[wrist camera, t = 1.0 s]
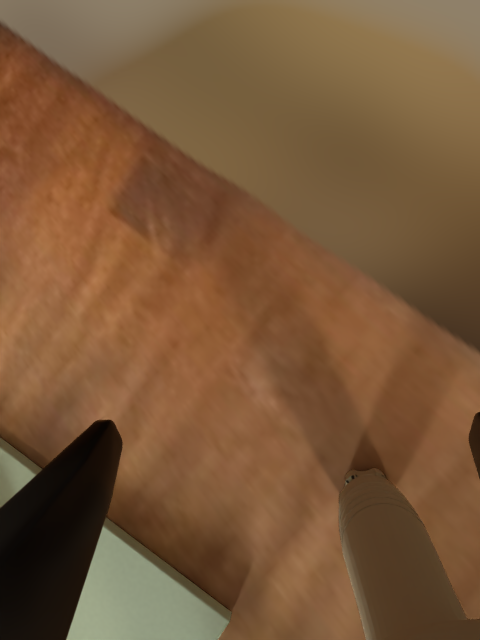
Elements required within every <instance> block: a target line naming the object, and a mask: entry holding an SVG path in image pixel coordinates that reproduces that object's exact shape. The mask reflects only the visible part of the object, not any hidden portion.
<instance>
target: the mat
mask: <svg viewBox="0 0 480 640" xmlns="http://www.w3.org/2000/svg"><path fill="white" fill-rule="evenodd" d="M41 470H42V469H41V468H40V467H39V466H37V465H36V464H35V463H33V462H32V461H31V460H29V459H28V458H27V457H26V456H24V455H23V454H22V453H20V452H19V451H18V450H16V449H15V448H14V447H12V446H11V445H10V444H8V443H7V442H6V441H4V440H3V439H2V438H0V508H1V507H2V506H3V505H4V504H5V503H6V502H7V501H8V500H9V499H10V498H12V497H13V496H14V495H15V494H16V493H17V492H18V491H19V490H20V489H21V488H23V487H24V486H25V485H26V484H27V483H28V482H29V481H30V480H31V479H32V478H34V477H35V476H36V475H37V474H38V473H39V472H40V471H41ZM231 614H232V613H231V611H229V610H228V609H227V608H225V607H224V606H223V605H221V604H220V603H219V602H217V601H216V600H215V599H213V598H212V597H211V596H209V595H208V594H207V593H205V592H204V591H203V590H202V589H200V588H199V587H198V586H196V585H195V584H194V583H192V582H191V581H190V580H188V579H187V578H186V577H184V576H183V575H182V574H180V573H179V572H178V571H176V570H175V569H174V568H172V567H171V566H170V565H168V564H167V563H166V562H164V561H163V560H162V559H161V558H159V557H158V556H157V555H155V554H154V553H153V552H151V551H150V550H149V549H147V548H146V547H145V546H143V545H142V544H141V543H139V542H138V541H137V540H135V539H134V538H133V537H131V536H130V535H129V534H127V533H126V532H125V531H123V530H122V529H121V528H119V527H118V526H117V525H116V524H114V523H113V522H112V521H110V520H109V519H108V518H106V519H105V522H104V525H103V528H102V531H101V534H100V537H99V540H98V543H97V547H96V550H95V553H94V556H93V559H92V562H91V565H90V568H89V571H88V574H87V578H86V581H85V584H84V587H83V590H82V593H81V596H80V599H79V602H78V605H77V608H76V612H75V615H74V618H73V621H72V624H71V627H70V630H69V633H68V636H67V639H66V640H218V638H219V637H220V635H221V634H222V632H223V631H224V629H225V628H226V626H227V625H228V623H229V622H230V618H231Z"/></svg>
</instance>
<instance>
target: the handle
mask: <svg viewBox="0 0 480 640" xmlns="http://www.w3.org/2000/svg"><path fill="white" fill-rule="evenodd" d="M339 532H340V539H341V545H342V551H343V556H344V560H345V563H346V567H347V570H348V574H349V577H350V581H351V584H352V588H353V592H354V595H355V599H356V602H357V606H358V610H359V614H360V618H361V622H362V626H363V630H364V634H365V638H366V640H480V619H471V620H468V619H467V617H466V615H465V613H464V611H463V609H462V607H461V605H460V603H459V600H458V598H457V596H456V594H455V592H454V590H453V588H452V586H451V584H450V581H449V579H448V577H447V574H446V572H445V570H444V568H443V565H442V563H441V561H440V559H439V556H438V554H437V552H436V550H435V547H434V545H433V543H432V541H431V538H430V536H429V534H428V532H427V530H426V528H425V526H424V525H423V523H422V521H421V519H420V518H419V516H418V514H417V513H416V511H415V510H414V508H413V507H412V506H411V504H410V503H409V501H408V500H407V499H406V498H405V496H404V495H403V494H402V493H401V492H400V491H399V490H398V489H397V488H396V487H395V486H394V485H393V484H392V483H390V482H389V481H388V480H387V479H386V478H385V475H384V474H383V473H382V472H381V471H380V470H378V469H376V468H371V469H370V470H367V471H356V470H354V469H353V470H351V471H349V472H348V473H347V474H346V475H345V486H344V488H343V490H342V492H340V494H339Z"/></svg>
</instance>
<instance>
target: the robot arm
mask: <svg viewBox="0 0 480 640" xmlns="http://www.w3.org/2000/svg"><path fill="white" fill-rule="evenodd" d="M469 444H470V448H471V451H472V455H473V458H474V462H475V465H476V468H477V472H478V475H479V479H480V412H478V413H476V414H475V416H474V419H473V423H472V426H471V429H470V433H469ZM122 445H123V444H122V438H121V436H120V434H119V432H118V430H117V428H116V426H115V423H114V422H113V421H112V420H97V421H95V422H94V423H93V424H92V425H91V426H90V427H89V428H87V429H86V430H85V431H84V432H83V433H82V434H81V435H80V436H79V437H78V438H76V439H75V440H74V441H73V442H72V443H71V444H70V445H69V446H68V447H67V448H65V449H64V450H63V451H62V452H61V453H60V454H59V455H58V456H57V457H56V458H54V459H53V460H52V461H51V462H50V463H49V464H48V465H47V466H46V467H45V468H43V469H42V470H41V471H40V472H39V473H38V474H37V475H36V476H35V477H34V478H32V479H31V480H30V481H29V482H28V483H27V484H26V485H25V486H24V487H23V488H21V489H20V490H19V491H18V492H17V493H16V494H15V495H14V496H13V497H12V498H10V499H9V500H8V501H7V502H6V503H5V504H4V505H3V506H2V507H1V508H0V640H66V639H67V636H68V633H69V630H70V627H71V624H72V621H73V618H74V615H75V612H76V608H77V605H78V602H79V599H80V596H81V593H82V590H83V587H84V584H85V581H86V578H87V574H88V571H89V568H90V565H91V562H92V559H93V556H94V553H95V550H96V547H97V543H98V540H99V537H100V534H101V531H102V528H103V525H104V522H105V519H106V516H107V513H108V509H109V506H110V502H111V498H112V494H113V489H114V485H115V480H116V475H117V470H118V466H119V461H120V456H121V452H122Z"/></svg>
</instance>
